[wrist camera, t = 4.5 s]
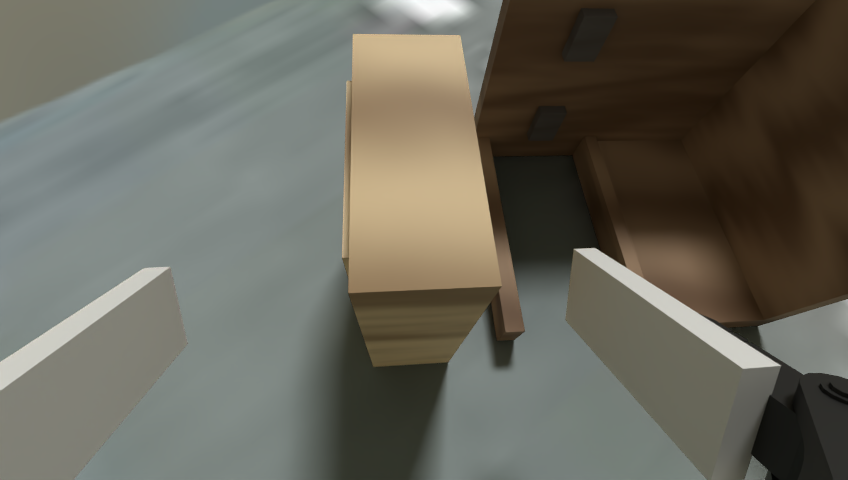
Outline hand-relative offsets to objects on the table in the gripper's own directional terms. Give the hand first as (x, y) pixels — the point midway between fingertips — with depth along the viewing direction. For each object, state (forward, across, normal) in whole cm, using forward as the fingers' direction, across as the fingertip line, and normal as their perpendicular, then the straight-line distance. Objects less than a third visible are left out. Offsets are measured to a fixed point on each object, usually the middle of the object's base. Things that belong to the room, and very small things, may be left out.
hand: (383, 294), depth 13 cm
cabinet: (+11, +14, -1) cm, 18 cm away
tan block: (+9, +1, -4) cm, 10 cm away
